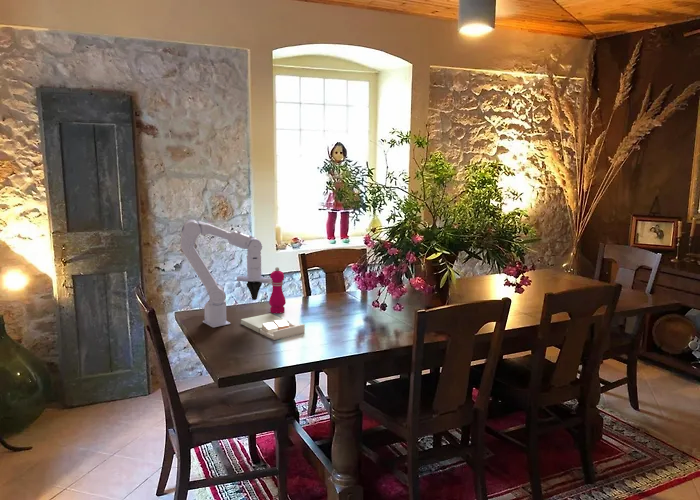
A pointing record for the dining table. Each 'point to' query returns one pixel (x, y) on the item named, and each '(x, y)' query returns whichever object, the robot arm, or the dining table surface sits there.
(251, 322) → the board
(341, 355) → the dining table surface
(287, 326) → the tile terracotta
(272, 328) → the tile cream
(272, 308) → the pepper mill
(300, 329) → the tray
